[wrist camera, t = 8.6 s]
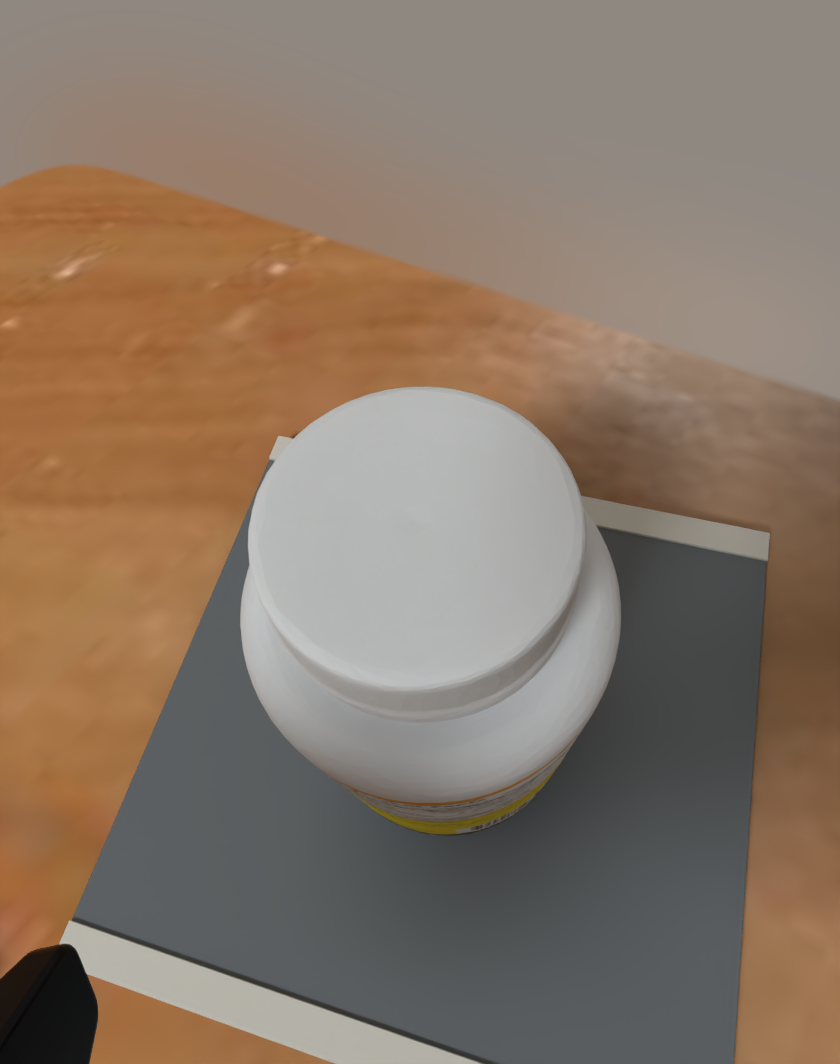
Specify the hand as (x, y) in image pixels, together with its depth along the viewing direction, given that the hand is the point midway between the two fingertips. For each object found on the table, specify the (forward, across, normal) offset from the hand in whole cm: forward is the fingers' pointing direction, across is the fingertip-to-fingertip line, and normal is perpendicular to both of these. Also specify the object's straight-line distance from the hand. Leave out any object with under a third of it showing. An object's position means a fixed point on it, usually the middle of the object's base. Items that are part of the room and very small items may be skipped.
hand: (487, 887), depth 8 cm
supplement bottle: (+9, 0, +3) cm, 10 cm away
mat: (+9, 0, +4) cm, 10 cm away
